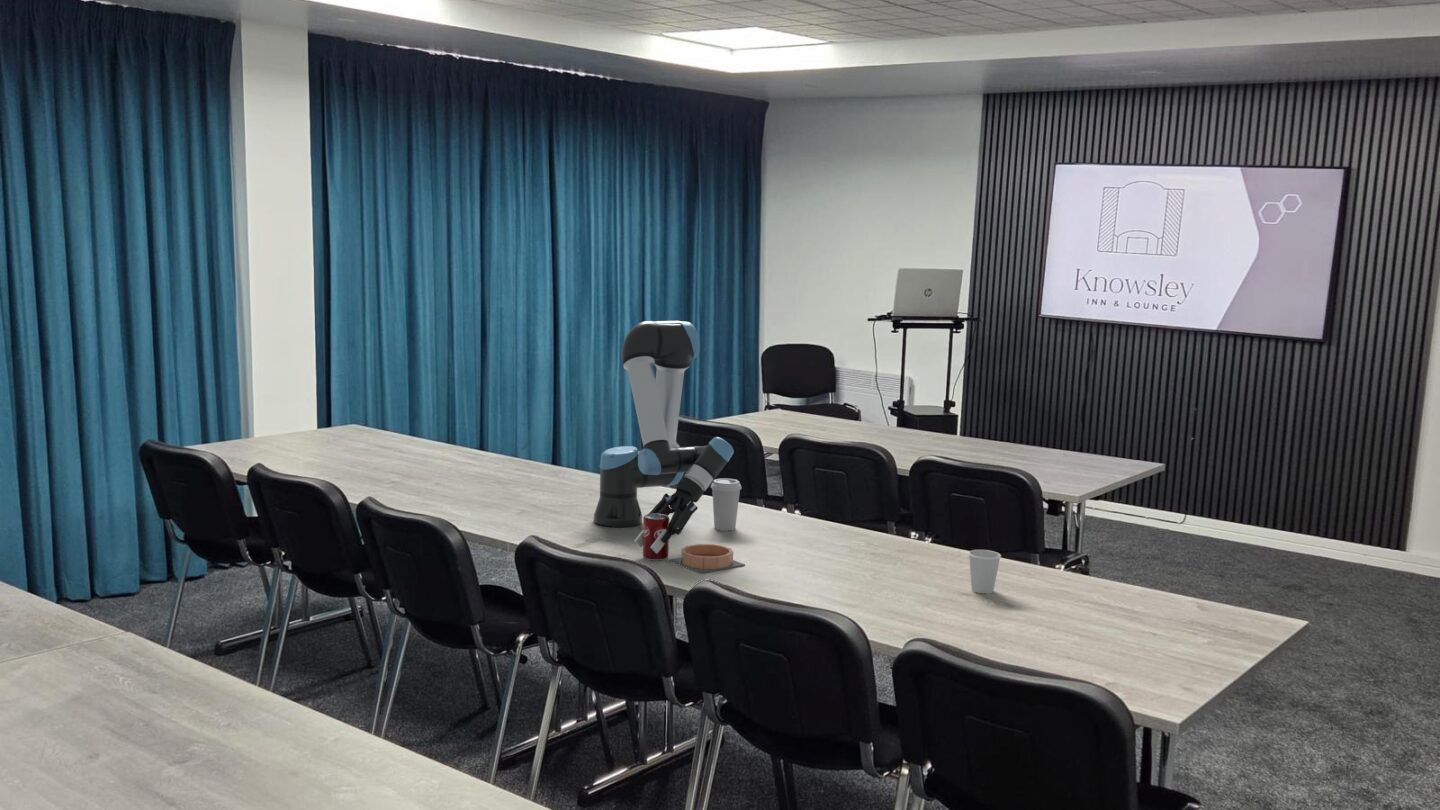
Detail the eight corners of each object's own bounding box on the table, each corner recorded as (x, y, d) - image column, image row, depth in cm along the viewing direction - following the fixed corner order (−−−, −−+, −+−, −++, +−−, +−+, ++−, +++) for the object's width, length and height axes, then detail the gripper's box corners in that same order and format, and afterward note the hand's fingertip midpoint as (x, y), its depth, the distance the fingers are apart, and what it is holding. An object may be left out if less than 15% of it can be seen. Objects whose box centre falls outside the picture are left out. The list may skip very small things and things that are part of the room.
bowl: (669, 560, 331) (669, 548, 330) (711, 553, 340) (712, 541, 339) (701, 573, 319) (701, 560, 318) (744, 565, 328) (745, 553, 327)
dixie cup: (963, 585, 316) (965, 548, 314) (995, 586, 315) (997, 550, 314) (969, 594, 307) (971, 557, 306) (1001, 596, 307) (1004, 558, 306)
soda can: (672, 556, 335) (673, 514, 334) (662, 562, 329) (663, 520, 327) (648, 553, 338) (649, 512, 336) (638, 559, 331) (639, 517, 329)
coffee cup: (737, 533, 364) (738, 485, 362) (706, 530, 366) (708, 482, 364) (742, 525, 373) (744, 479, 371) (713, 523, 375) (714, 477, 373)
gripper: (722, 499, 332) (674, 563, 325) (680, 486, 348) (633, 547, 340) (708, 482, 328) (658, 547, 321) (666, 470, 344) (617, 531, 336)
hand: (645, 547), depth 331 cm, fingers closed on soda can, 7 cm apart
